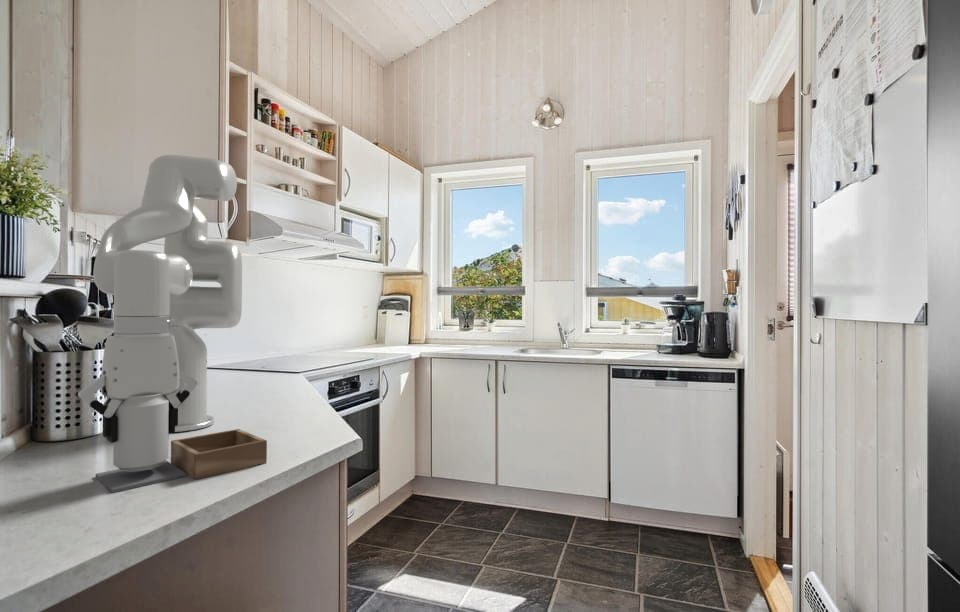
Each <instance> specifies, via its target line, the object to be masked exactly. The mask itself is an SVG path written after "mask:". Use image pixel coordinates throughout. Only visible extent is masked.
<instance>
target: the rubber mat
mask: <svg viewBox="0 0 960 612" xmlns="http://www.w3.org/2000/svg"><path fill="white" fill-rule="evenodd" d="M185 477H187V474H186V473H185V472H183V471H182V470H180V469H179V468H177V467H176V466H174V465H173V464H171V462H170V461H168V460H167V459H166V460H165V461H164V462H163V464H161V465H160V466H158V467H155V468H152V469H148V470H143V471H134V472H127V471H121V470H120V469H119V468H117V469H113V470H108V471H107V470H106V471H103V472H99V473H95V478H96V479H97V480H98V481H99V482H100V483H101V484H103V486H104V487H106V489H108V491H109V492H110V493H112V494H113V493H118V492H123V491H127V490H131V489H135V488H141V487H145V486H148V485H149V486H150V485H152V484H159V483H162V482H168V481H171V480H176V479H180V478H185Z"/></svg>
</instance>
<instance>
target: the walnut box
mask: <svg viewBox="0 0 960 612" xmlns="http://www.w3.org/2000/svg"><path fill="white" fill-rule="evenodd" d="M267 443H268V440H267V439H265V438H261V437H259V436H256V435H254V434H252V433H249V432H247V431H245V430H242V429H240V428H236V429H231V430H224V431H220V432H219V431H218V432H214V433H207V434H202V435H197V436H191V437H186V438H185V437H184V438H180V439H174V440H171V441H170V463H171V464H173V465H174V466H176V467H177V468H179V469H180V470H182V471H183V472H185V473H186V475H189V477H191V478H193V479H194V480H199V479H203V478H204V477H205V478H208V476H209V477H212V476H213V477H214V476H217V474H218V475H222V474H226V473H230V472H233V470H235V471H239V470H243V469H247V468H250V467H249V466H252V467H254V466H253V465H256V466H259V465H258V464H260V465H263V464H262V463H265V464H267V463H266V462H267V460H268V459H267V454H268V449H267V448H268V447H267V445H268V444H267ZM246 467H247V468H246ZM242 468H243V469H242ZM238 469H239V470H238ZM229 471H230V472H229ZM225 472H226V473H225ZM221 473H222V474H221Z"/></svg>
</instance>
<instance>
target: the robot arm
mask: <svg viewBox="0 0 960 612" xmlns="http://www.w3.org/2000/svg"><path fill="white" fill-rule="evenodd" d="M236 174H237V173H236V171H235V170H234V167H233V166H232V165H231V164H230V163H228V162H225V161H223V160H221V159H220V160H219V159H216V158H210V157H209V158H208V157H199V156H188V155H180V154H164V155H160V156H158V157H156V158H155V159H154V160H153V161H152V162H151V163H150V164H149V167H148V174H147V178H146V183H145V185H144V186H145V187H144V191H143V195H142V198H141V199H142V200H141V204H140V207H138V208H136V209H134V210H132V211H130V212H128V213H126V214H124V216H121V218H119V219H117V220H116V221H115V222H113V223H112V224H111V225H110V226H108V228H107V229H106V230H105V232H104V233H103V234H102V237H101V239H100V241H99V246H98V249H97V252H96V255H95V260H94V264H93V280H94V284H95V286H96V287H97V288H98V290H100V291H101V292H102V293H104V294H106V295H111V296H113V335H110V336H107V338H106V341H105V344H104V350H103V356H102V363H101V364H102V366H101V376H99V377H98V378H96V379H95V380H93V382H91V383H90V384H88V385H87V386H85V387H84V388H82V389H81V390H79V391H78V392H77V396H78V397H79V398H80V399H81V400H83V402H85V404H87V405H88V406H89V408H91V409H93V410H94V411H96V412H97V413H99V414H100V415H102V437H103V438H106V440H107V442H109V443H114V442H116V441H117V417H116V416H115V411H116V409H117V408H118V406H119V405H120V403H121V401H122V400H126V399H128V397H131V396H132V397H133V396H148V395H155V394H159V393H163V394H162V395H164V396H165V397H166V398H167V399H168V400H169V433H170V434H172V433H177V432H178V433H179V432H188V431H189V432H190V431H194V430H200V429H204V428H208V427H210V426H212V425H213V424H214V423H215V417H214V416H212V415H207V396H208V395H207V393H208V392H207V390H208V389H207V388H208V387H207V385H208V380H207V379H208V349H207V345H206V343H205V341H204V340H203V339H202V337H200V335H199V334H198V333H197V332H196V331H195V330H196V329H198V330H201V329H231V328H235V327H236V326H238V325H239V323H240V321H241V317H242V309H243V308H242V306H243V301H242V300H243V260H242V254H241V251H240V248H239V247H238V246H237V245H236V244H235V243H233V242H231V241H230V242H228V241H221V240H220V241H218V240H208V227H209V226H208V224H209V223H208V219H207V218H206V216H205V215H204V213H203V212H202V211H201V209H200V208H198V206H197V205H196V204H195V200H196V199H197V200H207V201H208V200H211V201H212V200H213V201H221V202H229V201H231V200H232V199H234V197H235V195H236V192H237V188H238V180H237V175H236ZM163 238H164V248H163V249H164V250H163V252H160V251H153V250H139V249H133V248H136V247H137V246H140V245H142V244H145V243H148V242H152V241H156V240H160V239H163ZM193 282H201V283H202V282H203V283H205V282H206V283H207V282H210V283H211V282H212V283H218V284H219V285H220V287H219V286H192V283H193ZM99 390H100V391H101V395H102V396H105V397H107V399H106V400H105V401H104V403H102V402H101V401H99V400H98V399H97V398H96V397H95V393H97V392H98V391H99Z"/></svg>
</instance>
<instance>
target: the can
mask: <svg viewBox="0 0 960 612" xmlns="http://www.w3.org/2000/svg"><path fill="white" fill-rule="evenodd" d="M162 394H163V393H159V394H155V395H148V396H133V397H132V396H131V397H128V399H126V400H122V401H121V403H120V405H119V406H118V408H117V409H116V411H115V416H116V417H117V441H116V442H114V443H113V446H112V448H113V451H112V452H113V453H112V454H113V457H112V458H113V461H112V465H113V466H114V467H116V468H117V469H120V470H121V471H127V472H134V471H143V470H148V469H152V468H155V467H158V466H160V465H161V464H163V462H164V461H165V460H166V461H167V459H169V433H170V432H169V400H168V399H167V398H166V397H165V396H164V395H162Z"/></svg>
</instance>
